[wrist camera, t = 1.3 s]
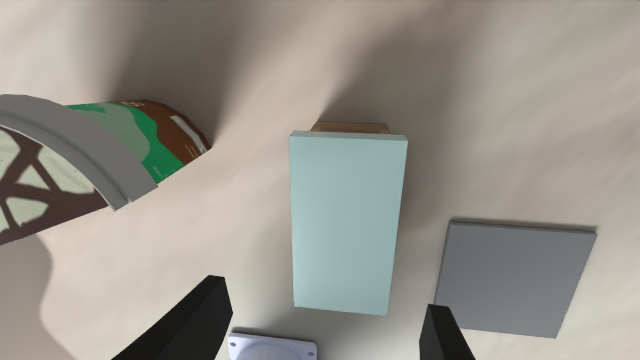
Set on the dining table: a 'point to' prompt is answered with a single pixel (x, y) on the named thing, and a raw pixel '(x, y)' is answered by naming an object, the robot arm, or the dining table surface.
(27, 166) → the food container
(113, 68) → the dining table surface
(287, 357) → the robot arm
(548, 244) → the coaster
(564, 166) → the dining table surface
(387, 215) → the lid
